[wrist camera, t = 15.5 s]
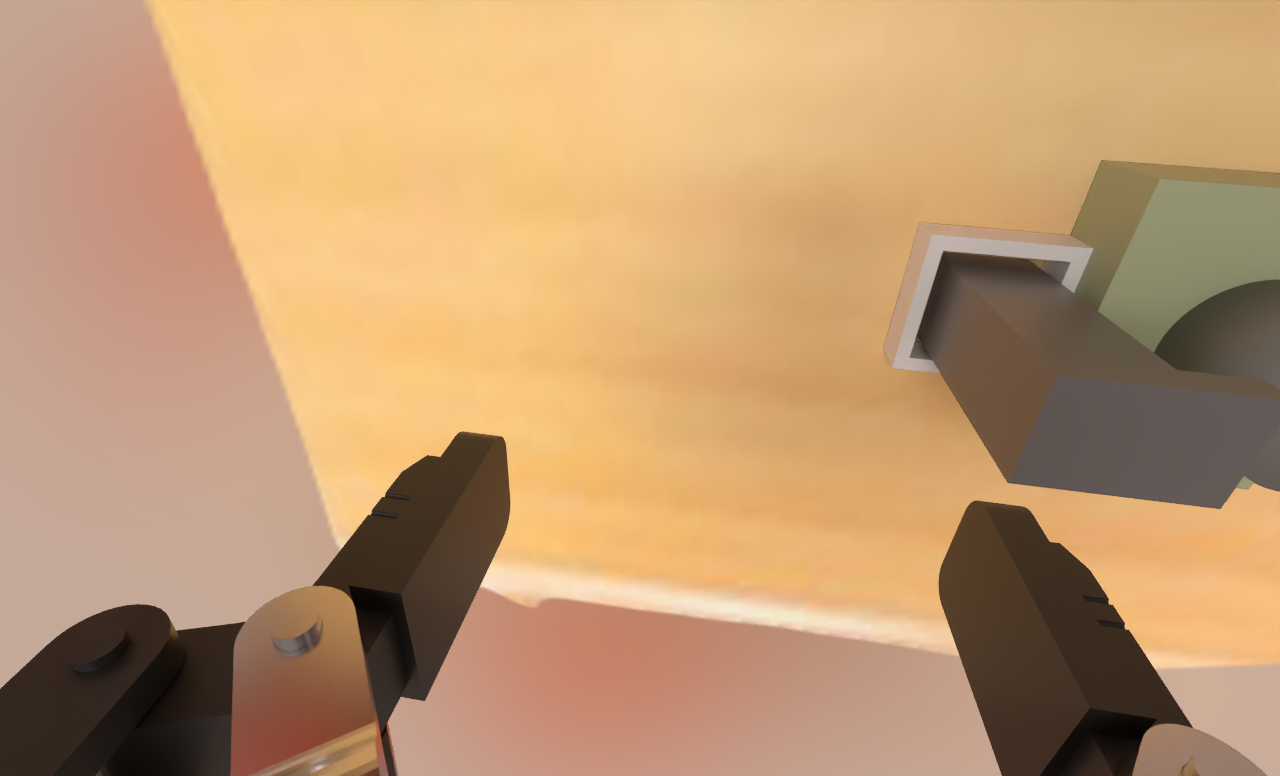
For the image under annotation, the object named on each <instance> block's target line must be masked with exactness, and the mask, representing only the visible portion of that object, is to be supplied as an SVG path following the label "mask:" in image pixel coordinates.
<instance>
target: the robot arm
mask: <svg viewBox="0 0 1280 776" xmlns="http://www.w3.org/2000/svg"><path fill="white" fill-rule="evenodd" d="M509 514H510V491H509V478H508V465H507V452H506V443H505V440H504V438H503V437H501V436H493V435H486V434H478V433H471V432H459V433H458V434H457V435H456V436H455V438H454V439H453V440H452V442H451V443H450V445H449V446H448V447H447V449H446V450H445V452H444V453H443V454H442V456H441V457H436V456H429V455H427V456H426V457H424V458H422V459H421V460H419V461H418V462H416V463H415V464H413V465H412V466H410V467H409V468H407V469H406V470H404V471H403V472H402V473H401V474H400V475H399V476H398V478H397V479H396V480H395V482H394V483H393V484H392V485H391V487H390V488H389V489H388V490H387V492H386V495H385V497H382V498H381V499H380V501H379V502H378V503H377V504H376V506H375V507H374V508H373V510H372V514H371V515H368V516H367V517H366V519H365V520H364V521H363V522H362V524H361V525H360V526H359V527H358V529H357V530H356V531H355V533H354V534H353V535H352V536H351V538H350V539H349V540H348V541H347V543H346V544H345V545H344V547H343V548H342V549H341V550H340V552H339V553H338V554H337V556H336V557H335V558H334V559H333V561H332V562H331V563H330V565H329V566H328V567H327V568H326V570H325V571H324V572H323V573H322V575H321V576H320V577H319V579H318V580H317V581H316V582H315V584H314V585H313V586H311V587H304V588H300V589H296V590H293V591H290V592H287V593H285V594H283V595H280V596H279V597H276V598H274V599H273V600H271V601H270V602H268V603H266V604H265V605H263V606H262V607H261V608H260V609H258V610H257V611H256V612H255V613H254V614H253V615H252V616H251V617H250V618H249V619H248V620H247V621H246V622H241V623H236V624H227V625H219V626H211V627H203V628H194V629H186V630H178V631H176V630H175V628H174V626H173V624H172V622H171V621H170V619H169V617H168V615H167V614H166V613H165V612H164V611H163V610H162V609H159V608H157V607H155V606H150V605H140V604H139V605H138V604H137V605H126V606H121V607H117V608H113V609H110V610H107V611H103V612H101V613H98V614H96V615H93V616H91V617H89V618H87V619H85V620H83V621H81V622H79V623H77V624H76V625H74V626H72V627H70V628H69V629H67V630H66V631H64V632H63V633H62V634H60V635H59V636H57V637H56V638H55V639H54V640H53V641H51V642H50V643H49V644H48V645H47V646H46V647H45V648H44V649H42V650H41V651H40V652H39V653H38V654H37V655H36V656H35V657H34V658H33V659H32V660H31V661H30V662H29V663H27V664H26V666H25V667H23V668H22V669H21V670H20V671H19V672H18V673H17V674H16V675H15V676H14V677H12V678H11V679H10V680H9V681H8V682H7V683H6V684H5V685H4V686H3V687H2V688H1V689H0V776H398V772H397V767H396V761H395V757H394V751H393V746H392V741H391V736H390V730H389V726H388V720H389V718H390V716H391V714H392V712H393V710H394V708H395V706H396V705H397V703H398V701H399V699H400V697H405V698H411V699H417V700H422V701H425V700H426V697H427V695H428V693H429V691H430V689H431V687H432V685H433V683H434V681H435V679H436V677H437V674H438V672H439V670H440V668H441V666H442V664H443V662H444V660H445V658H446V656H447V654H448V651H449V649H450V647H451V645H452V643H453V641H454V639H455V637H456V635H457V633H458V631H459V628H460V626H461V624H462V622H463V620H464V618H465V615H466V614H467V611H468V610H469V608H470V605H471V603H472V601H473V599H474V597H475V595H476V593H477V591H478V589H479V587H480V585H481V583H482V580H483V578H484V576H485V574H486V572H487V570H488V568H489V566H490V564H491V562H492V560H493V557H494V555H495V553H496V551H497V549H498V547H499V545H500V543H501V541H502V539H503V536H504V534H505V531H506V528H507V524H508V520H509ZM939 595H940V600H941V604H942V607H943V610H944V613H945V615H946V618H947V621H948V624H949V627H950V630H951V632H952V635H953V638H954V641H955V644H956V647H957V649H958V652H959V655H960V658H961V660H962V664H963V666H964V668H965V672H966V675H967V678H968V681H969V683H970V686H971V689H972V692H973V695H974V698H975V700H976V703H977V706H978V709H979V712H980V714H981V717H982V720H983V723H984V726H985V729H986V732H987V734H988V737H989V740H990V743H991V746H992V749H993V751H994V754H995V757H996V760H997V763H998V766H999V768H1000V771H1001V774H1002V776H1267V775H1266V774H1265V773H1264V772H1263V771H1262V770H1261V769H1259V768H1258V767H1257V766H1256V765H1255V764H1254V763H1252V762H1251V761H1250V760H1249V759H1248V758H1246V757H1245V756H1243V755H1242V754H1241V753H1240V752H1238V751H1237V750H1235V749H1234V748H1232V747H1231V746H1229V745H1227V744H1226V743H1224V742H1222V741H1220V740H1219V739H1216V738H1215V737H1213V736H1211V735H1209V734H1207V733H1204V732H1202V731H1200V730H1197V729H1194V728H1193V727H1192V726H1191V724H1190V722H1189V721H1188V720H1187V718H1186V716H1185V715H1184V713H1183V712H1182V710H1181V709H1180V707H1179V706H1178V704H1177V703H1176V701H1175V699H1174V698H1173V696H1172V695H1171V693H1170V692H1169V690H1168V689H1167V687H1166V686H1165V684H1164V683H1163V681H1162V680H1161V678H1160V677H1159V675H1158V673H1157V672H1156V670H1155V669H1154V667H1153V666H1152V664H1151V663H1150V661H1149V660H1148V658H1147V657H1146V655H1145V654H1144V652H1143V651H1142V649H1141V647H1140V646H1139V644H1138V643H1137V641H1136V640H1135V638H1134V637H1133V635H1132V634H1131V632H1130V631H1129V630H1125V627H1124V625H1125V623H1124V621H1123V620H1122V618H1121V617H1120V615H1119V614H1118V612H1117V611H1116V609H1115V608H1114V606H1113V605H1109V603H1108V600H1109V599H1108V597H1107V596H1106V594H1105V592H1104V591H1103V589H1102V588H1101V586H1100V585H1099V583H1098V582H1097V580H1096V579H1095V577H1094V576H1093V574H1092V573H1091V571H1090V570H1089V569H1088V568H1087V567H1086V566H1085V565H1084V564H1082V563H1081V562H1080V561H1079V560H1078V559H1077V558H1076V557H1075V556H1073V555H1072V554H1071V553H1070V552H1069V551H1068V550H1067V549H1066V548H1064V547H1063V546H1062V545H1061V544H1060V543H1053V542H1049V540H1048V539H1047V537H1046V535H1045V534H1044V532H1043V530H1042V529H1041V527H1040V526H1039V524H1038V522H1037V521H1036V519H1035V517H1034V516H1033V514H1032V513H1031V511H1029V510H1028V509H1027V508H1025V507H1021V506H1014V505H1006V504H998V503H991V502H983V501H973V502H971V503H970V504H969V506H968V507H967V509H966V511H965V513H964V515H963V517H962V520H961V522H960V524H959V526H958V529H957V531H956V533H955V536H954V538H953V540H952V542H951V545H950V547H949V549H948V552H947V554H946V556H945V558H944V561H943V563H942V566H941V569H940V574H939Z"/></svg>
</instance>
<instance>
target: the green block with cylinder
mask: <svg viewBox="0 0 1280 776" xmlns="http://www.w3.org/2000/svg"><path fill="white" fill-rule="evenodd" d="M943 251H953V252H964V253H975V254H986V255H998V256H1009V257H1020V258H1031V259H1042V260H1045V261H1044V263H1043V266H1042V268H1041V269H1042V270H1043V271H1045V272H1046V273H1047V274H1049V275H1050V276H1051V277H1053V278H1054V279H1055V280H1057V281H1058V282H1059V283H1061V284H1062V285H1063V286H1065V287H1066V288H1067V289H1069V290H1070V291H1071V292H1073V293H1074V294H1075V295H1077V296H1078V297H1079V298H1081V299H1082V300H1083V301H1085V302H1086V303H1087V304H1089V305H1090V306H1092V307H1093V308H1094V309H1096V310H1097V311H1098V312H1100V313H1101V314H1102V315H1104V316H1105V317H1106V318H1108V319H1109V320H1110V321H1112V322H1113V323H1114V324H1116V325H1117V326H1118V327H1120V328H1121V329H1122V330H1124V331H1125V332H1126V333H1128V334H1129V335H1130V336H1132V337H1133V338H1135V339H1136V340H1137V341H1139V342H1140V343H1141V344H1143V345H1144V346H1145V347H1147V348H1148V349H1149V350H1151V351H1152V352H1153V353H1155V354H1156V355H1157V356H1159V357H1160V358H1161V359H1163V360H1164V361H1165V362H1167V363H1168V364H1169V365H1171V366H1172V367H1173V368H1175V369H1176V370H1180V371H1190V372H1199V373H1209V374H1219V375H1228V376H1238V377H1248V378H1257V379H1264V380H1265V381H1267V382H1268V383H1270V384H1272V385H1273V386H1275V387H1276V388H1278V389H1279V390H1280V173H1267V172H1254V171H1240V170H1227V169H1213V168H1199V167H1186V166H1172V165H1159V164H1145V163H1131V162H1118V161H1104V160H1102V161H1101V164H1100V166H1099V169H1098V171H1097V173H1096V176H1095V178H1094V181H1093V183H1092V185H1091V188H1090V190H1089V193H1088V195H1087V197H1086V200H1085V202H1084V204H1083V207H1082V209H1081V212H1080V214H1079V216H1078V219H1077V221H1076V224H1075V226H1074V228H1073V231H1072V233H1071V235H1061V234H1049V233H1038V232H1026V231H1014V230H1002V229H991V228H979V227H967V226H955V225H944V224H932V223H920V224H919V227H918V231H917V234H916V238H915V241H914V245H913V248H912V252H911V255H910V259H909V262H908V265H907V269H906V272H905V276H904V279H903V283H902V286H901V290H900V293H899V297H898V300H897V304H896V307H895V311H894V314H893V318H892V321H891V325H890V328H889V332H888V335H887V339H886V342H885V346H884V349H883V350H884V353H885V355H886V357H887V359H888V361H889V363H890V365H891V367H892V368H894V369H904V370H913V371H922V372H931V373H940V372H939V370H938V369H937V367H936V365H935V364H934V362H933V360H932V359H931V357H930V356H929V354H928V352H927V351H926V349H925V347H924V346H923V344H922V342H915V339H916V335H917V332H918V329H919V326H920V323H921V320H922V316H923V313H924V310H925V307H926V304H927V300H928V297H929V294H930V291H931V288H932V284H933V281H934V278H935V275H936V272H937V269H938V265H939V262H940V259H941V256H942V253H943ZM1253 483H1256V484H1258V485H1260V486H1262V487H1265V488H1268V489H1271V490H1275V491H1280V426H1279V428H1278V429H1277V430H1276V432H1275V433H1274V435H1273V436H1272V437H1271V439H1270V440H1269V442H1268V443H1267V445H1266V446H1265V447H1264V449H1263V450H1262V452H1261V453H1260V454H1259V456H1258V457H1257V459H1256V460H1255V461H1254V463H1253V464H1252V466H1251V467H1250V468H1249V470H1248V471H1247V473H1246V474H1245V475H1244V477H1243V478H1242V480H1241V481H1240V482H1239V484H1238V485H1237V487H1236V488H1240V489H1248V490H1249V488H1250V487H1251V486H1252V484H1253Z"/></svg>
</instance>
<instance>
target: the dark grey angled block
mask: <svg viewBox="0 0 1280 776" xmlns="http://www.w3.org/2000/svg"><path fill="white" fill-rule="evenodd" d="M917 336H918V338H919V339H920V341H921V342H922V344H923V346H924V347H925V349H926V351H927V352H928V354H929V356H930V357H931V359H932V360H933V362H934V364H935V365H936V367H937V369H938V370H939V372H940V373H941V375H942V377H943V378H944V380H945V382H946V383H947V385H948V386H949V388H950V390H951V391H952V393H953V395H954V396H955V398H956V399H957V401H958V403H959V404H960V406H961V408H962V409H963V411H964V412H965V414H966V416H967V417H968V419H969V421H970V422H971V424H972V425H973V427H974V429H975V430H976V432H977V434H978V435H979V437H980V438H981V440H982V442H983V443H984V445H985V447H986V448H987V450H988V452H989V453H990V455H991V456H992V458H993V460H994V461H995V463H996V465H997V466H998V468H999V469H1000V471H1001V473H1002V474H1003V476H1004V478H1005V479H1006V481H1007V482H1008V483H1013V484H1021V485H1029V486H1038V487H1046V488H1054V489H1062V490H1070V491H1078V492H1086V493H1094V494H1103V495H1111V496H1119V497H1127V498H1135V499H1143V500H1151V501H1159V502H1168V503H1176V504H1184V505H1192V506H1200V507H1208V508H1216V509H1221V508H1222V506H1223V505H1224V503H1225V502H1226V501H1227V499H1228V498H1229V496H1230V495H1231V494H1232V492H1233V491H1234V489H1235V488H1236V487H1237V485H1238V484H1239V482H1240V481H1241V480H1242V478H1243V477H1244V475H1245V474H1246V473H1247V471H1248V470H1249V468H1250V467H1251V466H1252V464H1253V463H1254V461H1255V460H1256V459H1257V457H1258V456H1259V454H1260V453H1261V452H1262V450H1263V449H1264V447H1265V446H1266V445H1267V443H1268V442H1269V440H1270V439H1271V437H1272V436H1273V435H1274V433H1275V432H1276V430H1277V429H1278V428H1279V426H1280V390H1279V389H1278V388H1276V387H1275V386H1273V385H1272V384H1270V383H1268V382H1267V381H1265V380H1264V379H1257V378H1248V377H1238V376H1228V375H1219V374H1209V373H1199V372H1190V371H1180V370H1176V369H1175V368H1173V367H1172V366H1171V365H1169V364H1168V363H1167V362H1165V361H1164V360H1163V359H1161V358H1160V357H1159V356H1157V355H1156V354H1155V353H1153V352H1152V351H1151V350H1149V349H1148V348H1147V347H1145V346H1144V345H1143V344H1141V343H1140V342H1139V341H1137V340H1136V339H1135V338H1133V337H1132V336H1130V335H1129V334H1128V333H1126V332H1125V331H1124V330H1122V329H1121V328H1120V327H1118V326H1117V325H1116V324H1114V323H1113V322H1112V321H1110V320H1109V319H1108V318H1106V317H1105V316H1104V315H1102V314H1101V313H1100V312H1098V311H1097V310H1096V309H1094V308H1093V307H1092V306H1090V305H1089V304H1087V303H1086V302H1085V301H1083V300H1082V299H1081V298H1079V297H1078V296H1077V295H1075V294H1074V293H1073V292H1071V291H1070V290H1069V289H1067V288H1066V287H1065V286H1063V285H1062V284H1061V283H1059V282H1058V281H1057V280H1055V279H1054V278H1053V277H1051V276H1050V275H1049V274H1047V273H1046V272H1045V271H1043V270H1042V269H1040V268H1039V267H1038V266H1036V265H1035V264H1034V263H1032V262H1031V261H1030V260H1022V259H1011V258H1000V257H989V256H977V255H966V254H955V253H944V252H943V253H942V256H941V259H940V262H939V265H938V269H937V272H936V275H935V278H934V281H933V284H932V288H931V291H930V294H929V297H928V300H927V304H926V307H925V310H924V313H923V316H922V320H921V323H920V326H919V329H918V332H917Z"/></svg>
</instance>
